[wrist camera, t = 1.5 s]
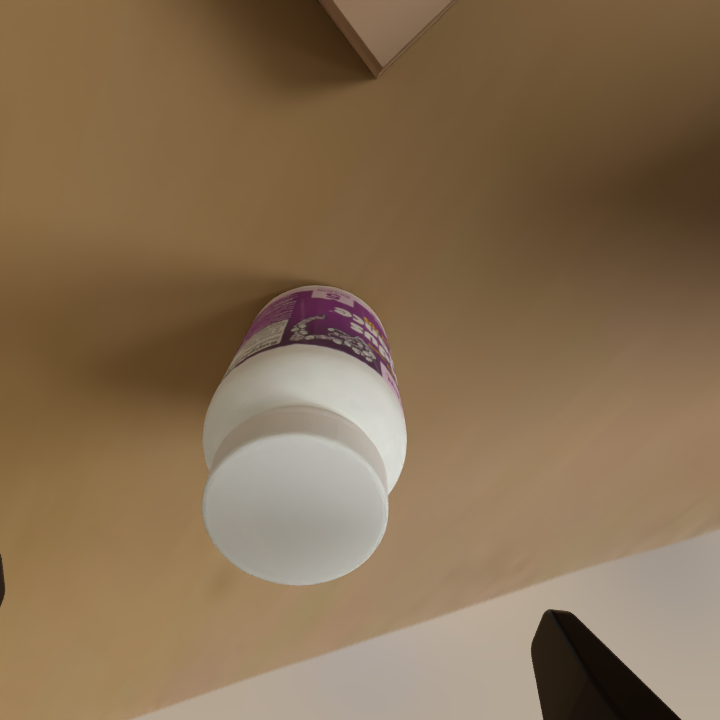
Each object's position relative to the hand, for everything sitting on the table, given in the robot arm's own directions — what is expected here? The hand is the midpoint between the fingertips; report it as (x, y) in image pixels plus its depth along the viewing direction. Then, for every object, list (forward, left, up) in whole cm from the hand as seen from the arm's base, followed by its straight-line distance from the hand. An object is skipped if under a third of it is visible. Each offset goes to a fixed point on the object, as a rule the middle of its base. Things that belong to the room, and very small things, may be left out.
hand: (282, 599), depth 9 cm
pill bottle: (0, 0, -12) cm, 12 cm away
